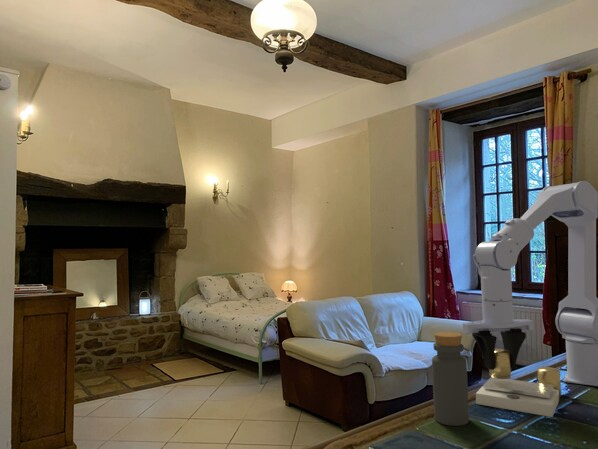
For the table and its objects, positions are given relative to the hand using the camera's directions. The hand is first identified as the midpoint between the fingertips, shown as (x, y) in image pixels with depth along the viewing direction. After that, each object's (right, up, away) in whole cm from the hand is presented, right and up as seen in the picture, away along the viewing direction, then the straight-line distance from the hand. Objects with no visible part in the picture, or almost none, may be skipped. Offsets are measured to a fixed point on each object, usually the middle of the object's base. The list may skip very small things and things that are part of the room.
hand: (500, 367), depth 91 cm
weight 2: (+11, -6, +1) cm, 12 cm away
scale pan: (+3, -3, -2) cm, 5 cm away
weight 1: (0, -2, 0) cm, 2 cm away
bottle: (-14, -6, -11) cm, 19 cm away
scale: (+2, -6, -3) cm, 7 cm away
